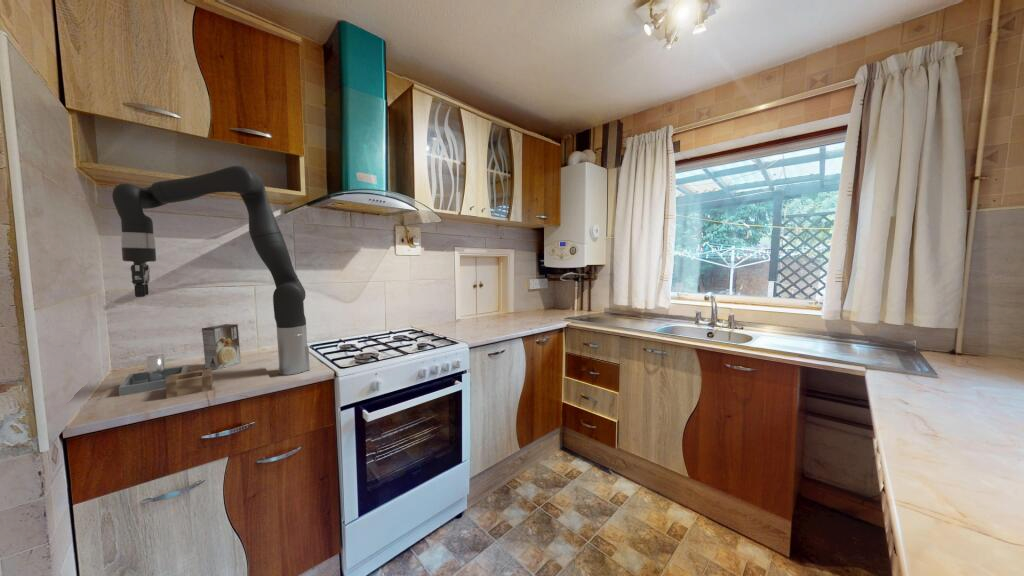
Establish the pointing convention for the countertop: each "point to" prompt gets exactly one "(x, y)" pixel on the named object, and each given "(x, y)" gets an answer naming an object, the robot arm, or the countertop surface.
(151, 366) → the pin
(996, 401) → the countertop surface
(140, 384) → the tray
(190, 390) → the pin block
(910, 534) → the countertop surface
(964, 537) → the countertop surface
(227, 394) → the countertop surface
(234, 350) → the coffee box
